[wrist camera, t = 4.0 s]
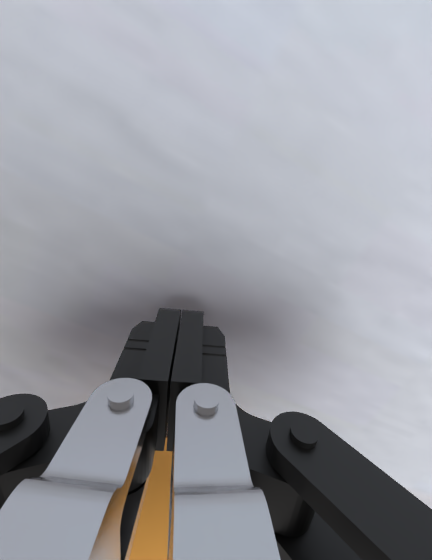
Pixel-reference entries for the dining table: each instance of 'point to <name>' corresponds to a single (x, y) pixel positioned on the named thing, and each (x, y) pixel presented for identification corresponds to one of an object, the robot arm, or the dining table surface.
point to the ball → (154, 512)
